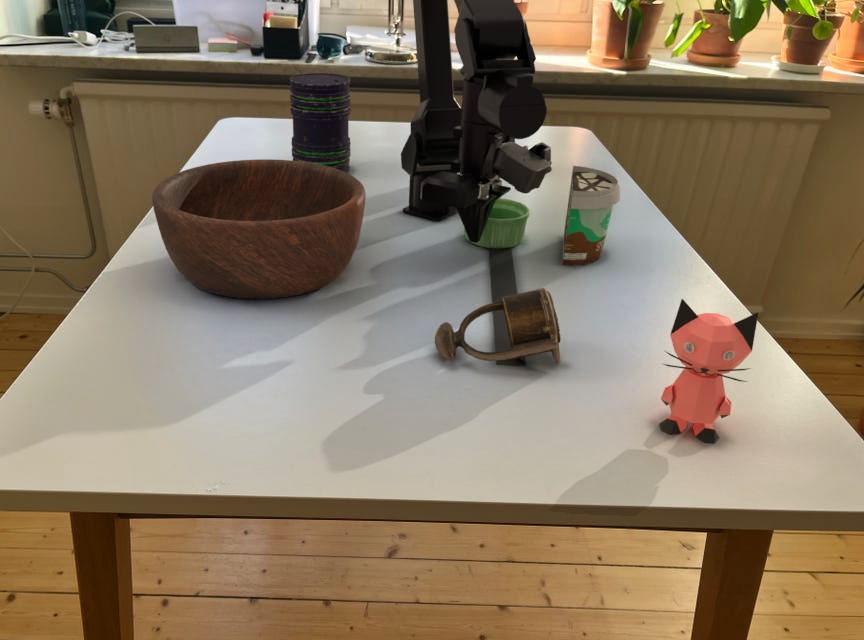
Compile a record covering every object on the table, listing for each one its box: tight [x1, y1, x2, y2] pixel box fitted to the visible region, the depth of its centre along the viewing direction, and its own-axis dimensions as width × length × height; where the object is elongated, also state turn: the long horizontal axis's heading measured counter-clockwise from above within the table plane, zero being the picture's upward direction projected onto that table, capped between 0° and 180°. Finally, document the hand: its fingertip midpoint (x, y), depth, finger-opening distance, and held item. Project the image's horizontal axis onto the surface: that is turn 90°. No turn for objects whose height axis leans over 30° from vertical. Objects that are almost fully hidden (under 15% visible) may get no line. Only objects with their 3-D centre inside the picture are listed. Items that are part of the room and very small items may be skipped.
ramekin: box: [463, 197, 531, 249], centre depth 111 cm, size 9×9×4 cm
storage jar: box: [289, 72, 352, 174], centre depth 135 cm, size 10×10×15 cm
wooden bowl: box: [151, 158, 367, 300], centre depth 99 cm, size 25×25×10 cm
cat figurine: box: [658, 298, 759, 444], centre depth 70 cm, size 7×7×12 cm
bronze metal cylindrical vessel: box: [434, 287, 562, 365], centre depth 82 cm, size 7×13×10 cm
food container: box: [561, 165, 621, 266], centre depth 106 cm, size 12×6×10 cm, turn 168°
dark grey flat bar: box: [488, 247, 527, 367], centre depth 98 cm, size 38×3×1 cm, turn 175°
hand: (474, 241), depth 107 cm, fingers closed
